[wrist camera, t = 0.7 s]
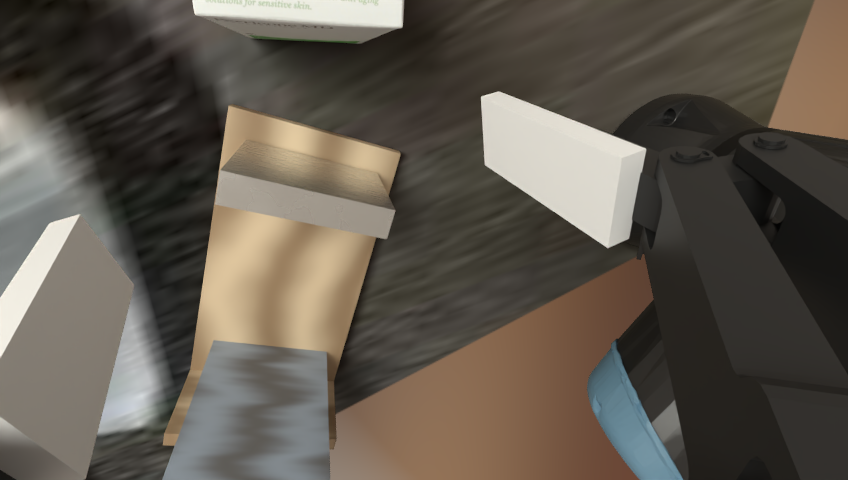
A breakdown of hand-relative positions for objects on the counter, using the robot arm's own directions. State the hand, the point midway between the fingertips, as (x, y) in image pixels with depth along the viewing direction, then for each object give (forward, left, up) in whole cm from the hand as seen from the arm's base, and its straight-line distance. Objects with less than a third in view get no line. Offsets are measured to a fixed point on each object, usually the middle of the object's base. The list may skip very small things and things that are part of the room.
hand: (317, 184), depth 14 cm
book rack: (0, +14, -20) cm, 24 cm away
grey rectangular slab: (0, +4, -19) cm, 19 cm away
